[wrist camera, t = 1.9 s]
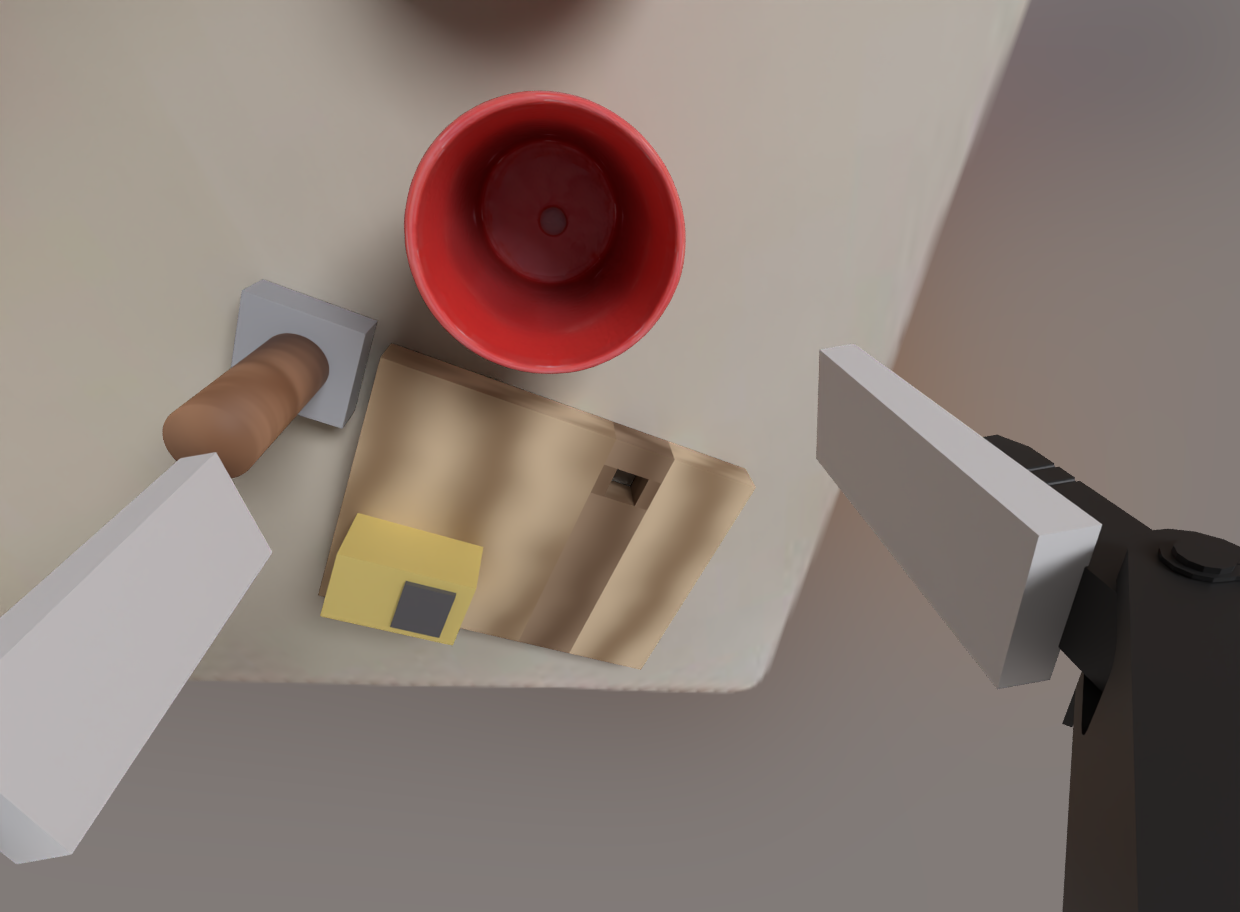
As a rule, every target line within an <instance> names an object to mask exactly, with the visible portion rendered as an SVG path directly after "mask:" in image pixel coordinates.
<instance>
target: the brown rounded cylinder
mask: <svg viewBox="0 0 1240 912" xmlns="http://www.w3.org/2000/svg"><path fill="white" fill-rule="evenodd" d="M328 376H329V364H328V360H327V358H326V356H325V354H324V352H323V351H322V350H321V349H320V347H319V346H318V345H316V344H315V343H314V342H313V341H311V340H310V339H308V338H306V337H304V336H301V335H298V334H293V333H283V334H278V335H275V336H273V337H271V338H270V339H269V340H267V341H266V342H265V343H263V344H262V345H261V346H260V347H258V348H257V349H256V350H254V351H253V352H252V353H250V354H249V355H248V356H246V357H245V358H244V359H242V360H241V361H240V362H238V363H237V364H236V365H234V366H233V367H232V368H231V369H229V370H228V371H227V372H225V373H224V374H223V375H221V376H220V377H219V378H217V379H216V380H215V381H213V382H212V383H211V384H209V385H208V386H207V387H205V388H204V389H203V390H201V391H200V392H199V393H198V394H196V395H195V396H194V397H192V398H191V399H190V400H188V401H187V402H186V403H184V404H183V405H182V406H180V407H179V408H178V409H176V410H175V411H174V412H172V413H171V414H170V415H169V416H168V417H167V419H166V421H165V423H164V425H163V440H164V443H165V446H166V448H167V450H168V451H169V453H170V454H171V455H172V457H173V458H174V459H175V460H176V461H178V460H179V459H180V458H185V457H191V456H196V455H202V454H208V453H214V452H216V453H217V455H218V456H219V458H220V460H221V462H222V463H223V465H224V467H225V469H226V471H227V472H228V474H229V476H230V478H235V477H238V476H240V475H242V474H244V473H245V472H247V471H248V470H249V469H250V468H251V467H252V465H253V464H254V463H255V462H256V461H257V460H258V459H259V458H260V456H261V455H262V454H263V453H264V452H265V451H266V450H267V448H268V447H269V446H270V445H271V444H272V443H273V442H274V441H275V439H276V438H277V437H278V436H279V435H280V434H281V433H282V431H283V430H284V429H285V428H286V427H287V426H288V425H289V424H290V422H291V421H292V420H293V419H294V418H295V417H296V416H297V414H298V413H299V412H300V411H301V410H302V409H303V408H304V406H305V405H306V404H307V403H308V402H309V401H310V400H311V399H312V397H313V396H314V395H315V394H316V393H317V392H318V391H319V389H320V388H321V387H322V386H323V385H324V384H325V382H326V381H327V379H328Z"/></svg>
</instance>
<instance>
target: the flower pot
mask: <svg viewBox="0 0 1240 912" xmlns="http://www.w3.org/2000/svg"><path fill="white" fill-rule="evenodd" d="M404 232H405V247H406V253H407V258H408V262H409V267H410V270H411V273H412V276H413V278H414V281H415V283H416V286H417V288H418V290H419V292H420V294H421V296H422V298H423V300H424V302H425V303H426V305H427V307H428V308H429V310H430V311H431V313H432V314H433V315H434V317H435V318H436V319H437V320H438V322H439V323H440V324H441V325H442V326H443V327H444V329H445V330H447V331H448V332H449V333H450V335H452V336H453V337H454V338H455V339H456V340H457V341H459V342H460V343H461V344H462V345H464V346H465V347H466V348H468V349H469V350H471V351H472V352H474V353H476V354H477V355H479V356H481V357H483V358H485V359H487V360H489V361H491V362H494V363H496V364H499V365H501V366H504V367H508V368H511V369H515V370H519V371H523V372H530V373H541V374H558V373H569V372H576V371H581V370H585V369H588V368H591V367H595V366H597V365H599V364H602V363H604V362H606V361H609V360H611V359H613V358H615V357H616V356H618V355H620V354H622V353H623V352H625V351H626V350H628V349H629V348H631V347H632V346H633V345H634V344H636V343H637V342H638V341H639V340H640V339H641V338H642V337H644V336H645V335H646V334H647V333H648V332H649V331H650V329H651V328H652V327H653V326H654V325H655V323H656V322H657V321H658V320H659V318H660V317H661V315H662V314H663V312H664V311H665V309H666V307H667V306H668V304H669V302H670V301H671V299H672V297H673V294H674V292H675V290H676V288H677V285H678V283H679V280H680V277H681V273H682V268H683V264H684V256H685V242H686V240H685V223H684V216H683V211H682V206H681V202H680V199H679V196H678V193H677V190H676V187H675V185H674V182H673V180H672V178H671V176H670V174H669V172H668V170H667V168H666V166H665V165H664V163H663V161H662V160H661V158H660V157H659V155H658V154H657V152H656V151H655V150H654V148H653V147H652V146H651V145H650V144H649V142H648V141H647V140H646V139H645V138H644V137H643V136H642V135H641V134H640V133H639V132H638V131H637V130H636V129H635V128H634V127H633V126H631V125H630V124H629V123H628V122H627V121H625V120H624V119H622V118H621V117H619V116H618V115H616V114H615V113H613V112H612V111H610V110H608V109H607V108H605V107H603V106H601V105H599V104H597V103H594V102H592V101H590V100H587V99H585V98H582V97H579V96H574V95H570V94H566V93H560V92H552V91H524V92H517V93H512V94H508V95H504V96H500V97H497V98H494V99H491V100H489V101H486V102H484V103H482V104H480V105H477V106H476V107H474V108H472V109H470V110H469V111H467V112H465V113H464V114H462V115H461V116H459V117H458V118H457V119H455V120H454V121H453V122H452V123H451V124H450V125H448V126H447V127H446V128H445V129H444V130H443V131H442V132H441V133H440V134H439V135H438V137H437V138H436V139H435V140H434V141H433V143H432V144H431V145H430V147H429V148H428V150H427V151H426V153H425V154H424V156H423V158H422V159H421V161H420V163H419V165H418V167H417V169H416V172H415V174H414V177H413V179H412V182H411V185H410V189H409V193H408V197H407V203H406V209H405V218H404Z"/></svg>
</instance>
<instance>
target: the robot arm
mask: <svg viewBox="0 0 1240 912" xmlns="http://www.w3.org/2000/svg"><path fill="white" fill-rule="evenodd" d="M816 459H817V460H818V461H819V463H820V464H821V465H822V466H823V468H824V469H825V470H826V471H827V473H828V474H829V475H830V477H831V478H832V479H833V480H834V482H835V483H836V484H837V486H838V487H839V488H840V489H841V491H842V492H843V493H844V494H845V496H846V497H847V498H848V500H849V501H850V502H851V503H852V505H853V506H854V507H855V508H856V510H857V511H858V512H859V514H860V515H861V516H862V517H863V519H864V520H865V521H866V522H867V524H868V525H869V526H870V528H871V529H872V530H873V531H874V533H875V534H876V535H877V537H878V538H879V539H880V540H881V542H882V543H883V544H884V545H885V547H886V548H887V549H888V551H889V552H890V553H891V554H892V556H893V557H894V558H895V560H896V561H897V562H898V563H899V565H900V566H901V567H902V568H903V570H904V571H905V572H906V574H907V575H908V576H909V577H910V579H911V580H912V581H913V583H914V584H915V585H916V586H917V587H918V589H919V590H920V591H921V593H922V594H923V595H924V596H925V598H926V599H927V600H928V601H929V603H930V604H931V605H932V607H933V608H934V609H935V610H936V612H937V613H938V614H939V616H940V617H941V618H942V620H943V621H944V622H945V623H946V625H947V626H948V627H949V628H950V630H951V631H952V632H953V634H954V635H955V636H956V637H957V639H958V640H959V641H960V642H961V644H962V645H963V646H964V648H965V649H966V650H967V651H968V653H969V654H970V655H971V656H972V658H973V659H974V660H975V661H976V663H977V664H978V665H979V667H980V668H981V669H982V671H983V672H984V673H985V674H986V676H987V677H988V678H989V679H990V681H991V682H992V683H993V685H994V686H995V687H996V688H997V689H1001V688H1007V687H1012V686H1018V685H1024V684H1029V683H1035V682H1040V681H1046V680H1050V678H1051V675H1052V672H1053V669H1054V666H1055V663H1056V661H1057V658H1058V654H1059V652H1060V649H1061V650H1062V651H1063V652H1064V653H1065V654H1066V655H1067V656H1068V658H1070V660H1071V661H1072V662H1073V663H1074V664H1075V665H1076V666H1077V667H1078V668H1079V669H1080V670H1081V671H1082V673H1081V675H1080V678H1079V681H1078V683H1077V686H1076V689H1075V691H1074V694H1073V697H1072V699H1071V703H1070V705H1069V707H1068V710H1067V713H1066V715H1065V718H1064V721H1063V724H1065V725H1067V726H1070V727H1072V726H1073V742H1072V760H1071V776H1070V793H1069V811H1068V828H1067V845H1066V863H1065V879H1064V896H1063V898H1064V899H1063V912H1240V547H1239V546H1237V545H1235V544H1233V543H1230V542H1228V541H1226V540H1224V539H1220V538H1216V537H1213V536H1209V535H1205V534H1202V533H1198V532H1193V531H1184V530H1174V529H1162V530H1152V529H1150V528H1149V527H1147V526H1145V525H1144V524H1143V523H1141V522H1140V521H1138V520H1137V519H1135V518H1134V517H1132V516H1131V515H1129V514H1128V513H1126V512H1125V511H1124V510H1122V509H1121V508H1119V507H1117V506H1116V505H1115V504H1113V503H1111V502H1110V501H1109V500H1107V499H1106V498H1104V497H1103V496H1101V495H1100V494H1098V493H1097V492H1095V491H1094V490H1092V489H1091V488H1090V487H1088V486H1086V485H1085V484H1084V483H1082V482H1081V481H1077V482H1076V481H1075V477H1073V476H1072V475H1070V474H1069V473H1067V472H1066V471H1064V470H1063V469H1062V468H1060V467H1055V466H1054V463H1052V462H1051V461H1050V460H1048V459H1047V458H1045V457H1044V456H1042V455H1041V454H1039V453H1038V452H1036V451H1035V450H1033V449H1032V448H1030V447H1029V446H1026V445H1023V444H1021V443H1018V442H1015V441H1012V440H1010V439H1007V438H1004V437H1001V436H999V435H993V436H987V437H982V436H980V435H979V434H978V433H976V432H975V431H973V430H972V429H971V428H969V427H968V426H967V425H965V424H964V423H962V422H961V421H960V420H958V419H957V418H955V417H954V416H953V415H951V414H950V413H949V412H947V411H946V410H945V409H943V408H942V407H941V406H939V405H938V404H936V403H935V402H934V401H932V400H931V399H930V398H928V397H927V396H925V395H924V394H923V393H921V392H920V391H919V390H917V389H916V388H914V387H913V386H912V385H910V384H909V383H907V382H906V381H905V380H903V379H902V378H901V377H899V376H898V375H897V374H895V373H894V372H893V371H891V370H890V369H888V368H887V367H886V366H884V365H883V364H882V363H880V362H879V361H877V360H876V359H875V358H873V357H872V356H871V355H869V354H868V353H866V352H865V351H864V350H862V349H861V348H860V347H858V346H857V345H855V344H849V345H843V346H837V347H831V348H826V349H820V351H819V384H818V417H817V450H816ZM271 554H272V551H271V549H270V547H269V545H268V543H267V542H266V540H265V538H264V536H263V535H262V533H261V531H260V529H259V527H258V526H257V524H256V522H255V520H254V519H253V517H252V515H251V513H250V511H249V510H248V508H247V506H246V504H245V503H244V501H243V499H242V497H241V495H240V494H239V492H238V490H237V488H236V487H235V485H234V483H233V481H232V479H231V478H230V476H229V474H228V472H227V471H226V469H225V467H224V465H223V463H222V462H221V460H220V458H219V456H218V455H217V453H216V452H214V453H208V454H202V455H196V456H191V457H185V458H180V459H179V460H178V461H177V462H176V463H174V464H173V465H172V466H171V467H170V468H169V469H168V470H167V471H165V472H164V473H163V474H162V475H161V476H160V477H159V478H158V479H156V480H155V481H154V482H153V483H152V484H151V485H150V486H148V487H147V488H146V489H145V490H144V491H143V492H142V493H141V494H139V495H138V496H137V497H136V498H135V499H134V500H133V501H132V502H130V503H129V504H128V505H127V506H126V507H125V508H124V509H123V510H121V511H120V512H119V513H118V514H117V515H116V516H115V517H113V518H112V519H111V520H110V521H109V522H108V523H107V524H106V525H104V526H103V527H102V528H101V529H100V530H99V531H98V532H97V533H95V534H94V535H93V536H92V537H91V538H90V539H89V540H88V541H86V542H85V543H84V544H83V545H82V546H81V547H80V548H78V549H77V550H76V551H75V552H74V553H73V554H72V555H71V556H69V557H68V558H67V559H66V560H65V561H64V562H63V563H62V564H60V565H59V566H58V567H57V568H56V569H55V570H54V571H53V572H51V573H50V574H49V575H48V576H47V577H46V578H45V579H43V580H42V581H41V582H40V583H39V584H38V585H37V586H36V587H34V588H33V589H32V590H31V591H30V592H29V593H28V594H27V595H25V596H24V597H23V598H22V599H21V600H20V601H19V602H18V603H16V604H15V605H14V606H13V607H12V608H11V609H10V610H8V611H7V612H6V613H5V614H4V615H3V616H2V617H1V618H0V852H1V853H3V854H4V855H5V856H7V857H8V858H9V859H10V860H12V861H13V862H14V863H16V864H20V863H26V862H32V861H37V860H43V859H48V858H54V857H59V856H65V855H71V854H72V853H73V852H74V850H75V849H76V847H77V846H78V844H79V842H80V841H81V839H82V838H83V836H84V835H85V833H86V832H87V830H88V829H89V827H90V826H91V824H92V823H93V821H94V820H95V818H96V817H97V815H98V814H99V812H100V811H101V809H102V808H103V806H104V805H105V803H106V802H107V800H108V799H109V797H110V796H111V794H112V793H113V791H114V790H115V788H116V787H117V785H118V784H119V782H120V781H121V779H122V778H123V776H124V775H125V773H126V772H127V770H128V769H129V767H130V765H131V764H132V763H133V761H134V760H135V758H136V757H137V755H138V754H139V752H140V751H141V749H142V747H143V746H144V745H145V743H146V742H147V740H148V738H149V737H150V736H151V734H152V733H153V731H154V729H155V728H156V727H157V725H158V724H159V722H160V721H161V719H162V718H163V716H164V715H165V713H166V711H167V710H168V709H169V707H170V705H171V704H172V703H173V701H174V699H175V698H176V697H177V695H178V693H179V692H180V691H181V689H182V687H183V686H184V684H185V683H186V681H187V680H188V678H189V677H190V675H191V674H192V672H193V671H194V669H195V668H196V666H197V665H198V663H199V662H200V660H201V659H202V657H203V656H204V654H205V653H206V651H207V650H208V648H209V647H210V645H211V644H212V642H213V641H214V639H215V638H216V636H217V635H218V633H219V632H220V630H221V629H222V627H223V626H224V624H225V623H226V621H227V620H228V618H229V617H230V615H231V614H232V612H233V611H234V609H235V608H236V606H237V605H238V603H239V602H240V600H241V599H242V597H243V596H244V594H245V593H246V591H247V590H248V588H249V587H250V585H251V584H252V582H253V581H254V579H255V578H256V576H257V575H258V573H259V572H260V570H261V569H262V567H263V566H264V564H265V563H266V561H267V560H268V558H269V557H270V555H271Z"/></svg>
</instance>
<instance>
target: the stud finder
mask: <svg viewBox="0 0 1240 912" xmlns="http://www.w3.org/2000/svg"><path fill="white" fill-rule="evenodd" d="M482 552H483V547H481V546H478V545H474V544H470V543H467V542H463V541H459V540H456V539H452V538H448V537H445V536H441V535H437V534H434V533H430V532H426V531H423V530H419V529H415V528H412V527H408V526H404V525H401V524H397V523H393V522H390V521H386V520H382V519H379V518H375V517H371V516H368V515H364V514H360V513H357V515H356V517H355V519H354V521H353V523H352V525H351V527H350V529H349V531H348V533H347V535H346V537H345V539H344V541H343V543H342V545H341V547H340V549H339V551H338V553H337V556H336V559H335V563H334V567H333V570H332V574H331V578H330V582H329V585H328V589H327V593H326V596H325V600H324V604H323V607H322V611H321V615H320V616H322V617H326V618H331V619H335V620H340V621H344V622H349V623H353V624H358V625H362V626H367V627H371V628H376V629H380V630H385V631H390V632H394V633H399V634H403V635H408V636H412V637H417V638H421V639H426V640H430V641H435V642H439V643H444V644H448V645H453V643H454V641H455V639H456V636H457V634H458V631H459V629H460V627H461V624H462V622H463V619H464V617H465V615H466V612H467V610H468V608H469V605H470V603H471V600H472V598H473V596H474V593H475V591H476V588H477V582H478V576H479V570H480V564H481V558H482Z"/></svg>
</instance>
